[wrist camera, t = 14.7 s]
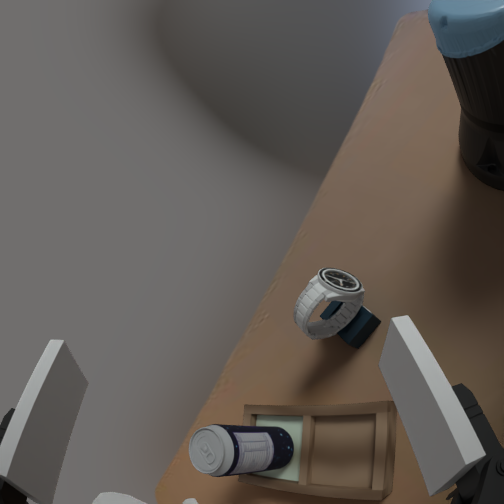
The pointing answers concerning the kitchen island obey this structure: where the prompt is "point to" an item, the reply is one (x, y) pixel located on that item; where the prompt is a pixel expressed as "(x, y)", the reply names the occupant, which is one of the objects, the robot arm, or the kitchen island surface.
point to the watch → (335, 308)
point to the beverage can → (240, 449)
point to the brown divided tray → (331, 449)
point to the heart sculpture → (126, 499)
